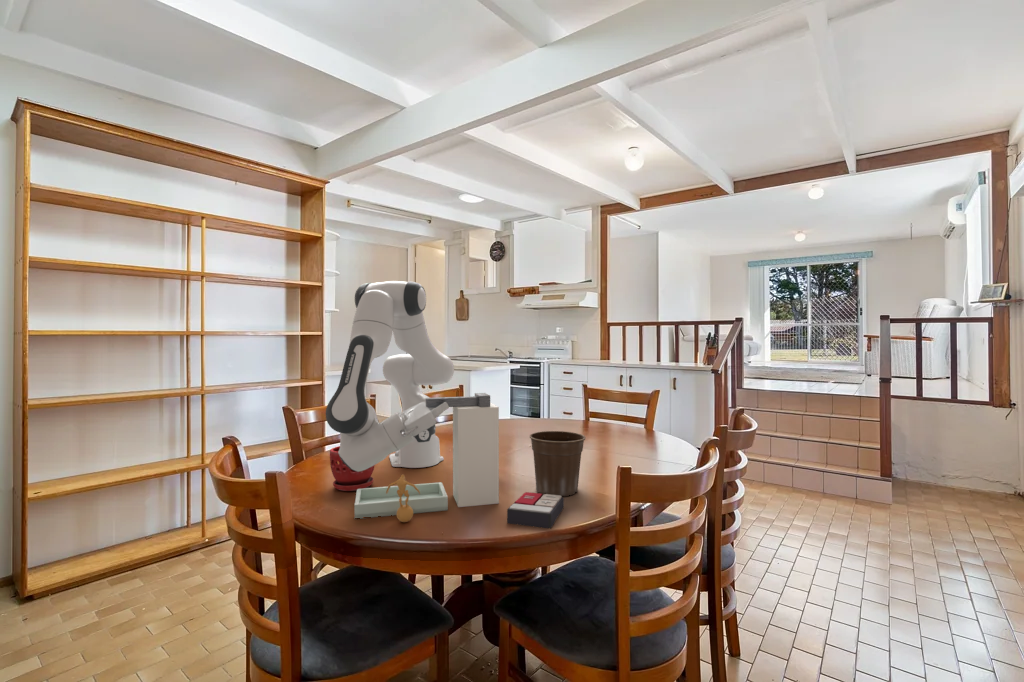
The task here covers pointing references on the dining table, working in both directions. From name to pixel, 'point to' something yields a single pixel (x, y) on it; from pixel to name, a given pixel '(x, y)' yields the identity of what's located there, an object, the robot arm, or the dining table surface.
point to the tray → (383, 504)
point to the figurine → (404, 510)
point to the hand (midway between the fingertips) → (445, 401)
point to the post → (476, 455)
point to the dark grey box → (535, 510)
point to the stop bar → (460, 401)
